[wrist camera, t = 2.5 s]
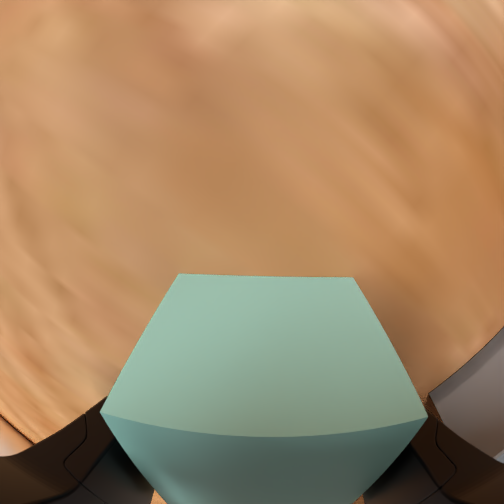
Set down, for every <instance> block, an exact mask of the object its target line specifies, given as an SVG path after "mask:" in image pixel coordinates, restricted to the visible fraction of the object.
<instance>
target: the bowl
mask: <svg viewBox="0 0 504 504" xmlns="http://www.w3.org/2000/svg"><path fill="white" fill-rule="evenodd" d="M31 446H33V444H32V443H31V442H30V441H28V440H27V439H26V438H25V437H24V436H23V435H21V434H20V433H19V432H18V431H17V430H16V429H14V428H13V427H12V426H11V425H10V424H9V423H8V422H6V421H5V420H4V419H3V418H2V417H1V416H0V456H10V455H14V454H17V453H19V452H21V451H23V450H25V449H27V448H29V447H31Z"/></svg>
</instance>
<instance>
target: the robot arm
mask: <svg viewBox="0 0 504 504" xmlns="http://www.w3.org/2000/svg"><path fill="white" fill-rule="evenodd" d="M107 397H108V396H106V397H105V398H104V399H102V400H101V401H100V402H98V403H97V404H96V405H94V406H93V407H92V408H90V409H89V410H88V411H86V413H85V414H82V415H81V416H80V417H78V418H77V419H76V420H74V421H73V422H71V423H70V424H68V425H67V426H65V427H64V428H63V429H61V430H59V431H58V432H56V433H54V434H53V435H51V436H49V437H47V438H46V439H44V440H42V441H40V442H38V443H37V444H35V445H33V446H31V447H29V448H27V449H25V450H23V451H21V452H19V453H17V454H14V455H10V456H0V504H150V503H151V500H152V496H153V493H154V488H153V487H152V486H151V484H150V483H149V482H148V481H147V480H146V478H145V477H144V476H143V475H142V473H141V472H140V471H139V469H138V468H137V467H136V466H135V464H134V463H133V462H132V460H131V459H130V457H129V456H128V455H127V453H126V452H125V451H124V449H123V448H122V446H121V445H120V443H119V442H118V440H117V439H116V437H115V436H114V434H113V433H112V431H111V430H110V428H109V426H108V425H107V423H106V422H105V420H104V418H103V417H102V415H101V413H100V411H101V409H102V407H103V405H104V403H105V401H106V399H107ZM425 411H426V413H427V415H428V418H427V419H426V421H425V422H424V424H423V425H422V426H421V428H420V429H419V430H418V432H417V433H416V434H415V436H414V437H413V438H412V440H411V441H410V442H409V444H408V445H407V446H406V447H405V449H404V450H403V451H402V452H401V453H400V455H399V456H398V457H397V458H396V459H395V460H394V462H393V463H392V464H391V465H390V466H389V467H388V468H387V469H386V471H385V472H384V473H383V474H382V475H381V476H380V477H379V478H378V479H377V480H376V481H375V482H374V483H373V484H372V485H371V486H370V487H369V488H368V489H367V490H366V491H365V492H364V493H363V498H364V504H504V463H502V462H499V461H497V460H496V459H494V458H492V457H491V456H489V455H488V454H486V453H484V452H483V451H481V450H480V449H478V448H477V447H475V446H473V445H472V444H470V443H469V442H467V441H466V440H464V439H463V438H462V437H460V436H459V435H457V434H456V433H455V432H454V431H452V430H451V429H450V428H448V427H447V426H446V425H445V424H444V423H442V422H441V421H440V420H438V419H437V418H436V417H435V416H434V415H433V414H431V413H430V412H429V411H428V410H427V409H425Z"/></svg>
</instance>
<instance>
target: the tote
mask: <svg viewBox="0 0 504 504" xmlns="http://www.w3.org/2000/svg"><path fill="white" fill-rule="evenodd" d="M429 395H430V397H431V399H432V401H433V403H434V405H435V407H436V409H437V411H438V413H439V415H440V417H441V419H442V421H443V423H444V424H445V425H446V426H447V427H448V428H450V429H451V430H452V431H454V432H455V433H456V434H457V435H459V436H460V437H462V438H463V439H464V440H466V441H467V442H469V443H470V444H472V445H473V446H475V447H477V448H478V449H480V450H481V451H483V452H484V453H486V454H488V455H489V456H491V457H492V458H494V459H496V460H497V461H499V462H502V463H504V327H503V328H502V329H501V330H500V332H499V333H498V334H497V335H496V336H495V337H494V338H493V339H492V340H491V341H490V342H489V343H488V344H487V345H486V346H485V347H484V348H483V349H482V350H480V351H479V352H478V353H477V354H476V355H475V356H474V357H473V358H472V359H471V360H470V361H468V362H467V363H466V364H465V365H464V366H463V367H462V368H460V369H459V370H458V371H457V372H456V373H454V374H453V375H452V376H451V377H450V378H448V379H447V380H446V381H444V382H443V383H442V384H441V385H439V386H438V387H437V388H435V389H434V390H433V391H431V392H430V393H429Z"/></svg>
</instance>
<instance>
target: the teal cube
mask: <svg viewBox="0 0 504 504" xmlns="http://www.w3.org/2000/svg"><path fill="white" fill-rule="evenodd" d="M100 413H101V415H102V417H103V418H104V420H105V422H106V423H107V425H108V426H109V428H110V430H111V431H112V433H113V434H114V436H115V437H116V439H117V440H118V442H119V443H120V445H121V446H122V448H123V449H124V451H125V452H126V453H127V455H128V456H129V457H130V459H131V460H132V462H133V463H134V464H135V466H136V467H137V468H138V469H139V471H140V472H141V473H142V475H143V476H144V477H145V478H146V480H147V481H148V482H149V483H150V484H151V486H152V487H153V488H154V489H155V490H156V491H157V493H158V494H159V495H160V496H161V497H162V498H163V499H164V500H165V502H166V503H167V504H352V503H353V502H354V501H356V500H357V499H358V498H359V497H360V496H361V495H362V494H363V493H364V492H365V491H366V490H367V489H368V488H369V487H370V486H371V485H372V484H373V483H374V482H375V481H376V480H377V479H378V478H379V477H380V476H381V475H382V474H383V473H384V472H385V471H386V469H387V468H388V467H389V466H390V465H391V464H392V463H393V462H394V460H395V459H396V458H397V457H398V456H399V455H400V453H401V452H402V451H403V450H404V449H405V447H406V446H407V445H408V444H409V442H410V441H411V440H412V438H413V437H414V436H415V434H416V433H417V432H418V430H419V429H420V428H421V426H422V425H423V424H424V422H425V421H426V419H427V418H428V415H427V413H426V411H425V408H424V406H423V404H422V402H421V400H420V398H419V396H418V394H417V392H416V390H415V388H414V386H413V384H412V382H411V380H410V378H409V376H408V374H407V372H406V370H405V368H404V366H403V364H402V362H401V360H400V358H399V356H398V355H397V353H396V351H395V349H394V347H393V345H392V343H391V342H390V340H389V338H388V336H387V334H386V333H385V331H384V329H383V327H382V325H381V324H380V322H379V320H378V318H377V317H376V315H375V313H374V312H373V310H372V308H371V306H370V305H369V303H368V301H367V300H366V298H365V296H364V295H363V293H362V291H361V290H360V288H359V286H358V285H357V283H356V282H355V280H354V278H353V277H272V276H232V275H202V274H178V276H177V277H176V279H175V280H174V282H173V284H172V285H171V287H170V289H169V290H168V292H167V293H166V295H165V297H164V298H163V300H162V302H161V303H160V305H159V307H158V308H157V310H156V312H155V313H154V315H153V317H152V318H151V320H150V322H149V324H148V325H147V327H146V329H145V330H144V332H143V334H142V336H141V337H140V339H139V341H138V342H137V344H136V346H135V348H134V350H133V351H132V353H131V355H130V357H129V358H128V360H127V362H126V364H125V366H124V367H123V369H122V371H121V373H120V375H119V377H118V378H117V380H116V382H115V384H114V386H113V388H112V390H111V391H110V393H109V395H108V397H107V399H106V401H105V403H104V405H103V407H102V409H101V411H100Z"/></svg>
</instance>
